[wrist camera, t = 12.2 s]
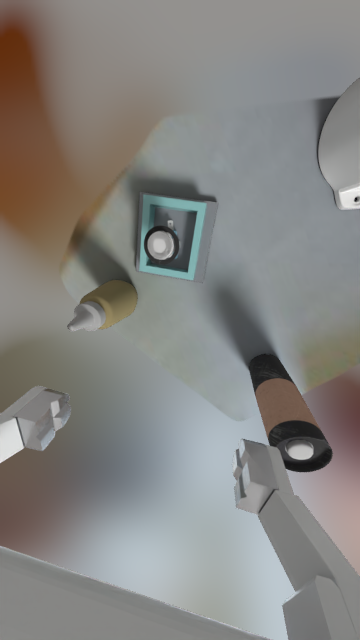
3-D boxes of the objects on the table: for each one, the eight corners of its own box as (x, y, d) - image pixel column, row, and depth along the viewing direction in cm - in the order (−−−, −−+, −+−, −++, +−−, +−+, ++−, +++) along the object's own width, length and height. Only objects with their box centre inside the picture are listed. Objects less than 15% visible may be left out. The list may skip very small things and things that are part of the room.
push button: (157, 221, 35) (138, 214, 26) (186, 220, 34) (176, 212, 25) (160, 259, 37) (143, 265, 28) (187, 259, 36) (178, 264, 27)
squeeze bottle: (118, 269, 41) (55, 287, 24) (149, 291, 42) (107, 324, 25) (103, 297, 44) (37, 330, 27) (131, 317, 45) (85, 361, 28)
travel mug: (244, 377, 46) (266, 466, 28) (251, 350, 43) (280, 430, 25) (277, 382, 45) (321, 478, 27) (286, 355, 42) (343, 442, 24)
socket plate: (218, 203, 33) (218, 198, 29) (202, 281, 39) (201, 286, 35) (142, 193, 35) (133, 187, 31) (138, 270, 40) (130, 273, 36)
